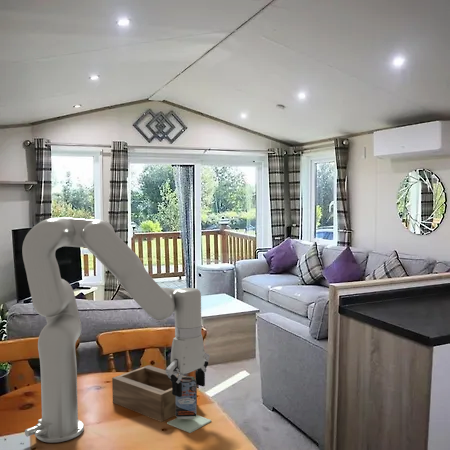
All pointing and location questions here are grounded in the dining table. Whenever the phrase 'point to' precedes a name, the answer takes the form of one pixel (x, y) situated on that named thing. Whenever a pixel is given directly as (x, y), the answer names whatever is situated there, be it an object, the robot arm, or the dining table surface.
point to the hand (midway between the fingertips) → (189, 390)
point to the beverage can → (186, 399)
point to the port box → (146, 392)
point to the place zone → (189, 423)
